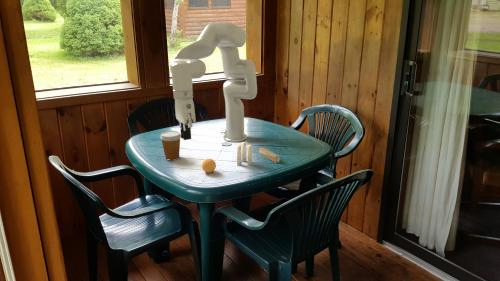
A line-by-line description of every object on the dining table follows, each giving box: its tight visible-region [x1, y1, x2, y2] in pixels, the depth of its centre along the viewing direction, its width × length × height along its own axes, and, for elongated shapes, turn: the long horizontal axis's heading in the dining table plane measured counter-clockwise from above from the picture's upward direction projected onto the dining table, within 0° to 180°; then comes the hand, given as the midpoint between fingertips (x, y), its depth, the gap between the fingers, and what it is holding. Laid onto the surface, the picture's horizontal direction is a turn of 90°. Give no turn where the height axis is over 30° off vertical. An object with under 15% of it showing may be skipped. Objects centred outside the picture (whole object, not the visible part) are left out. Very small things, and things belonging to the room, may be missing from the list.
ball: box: [201, 158, 217, 174], centre depth 174 cm, size 6×6×6 cm
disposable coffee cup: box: [159, 130, 182, 161], centre depth 189 cm, size 10×10×12 cm
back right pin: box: [246, 144, 253, 167], centre depth 181 cm, size 2×2×9 cm
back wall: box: [258, 146, 280, 164], centre depth 189 cm, size 2×14×3 cm, turn 31°
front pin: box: [236, 144, 243, 167], centre depth 181 cm, size 2×2×9 cm
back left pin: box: [241, 141, 247, 163], centre depth 185 cm, size 2×2×9 cm
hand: (186, 138), depth 165 cm, fingers closed
